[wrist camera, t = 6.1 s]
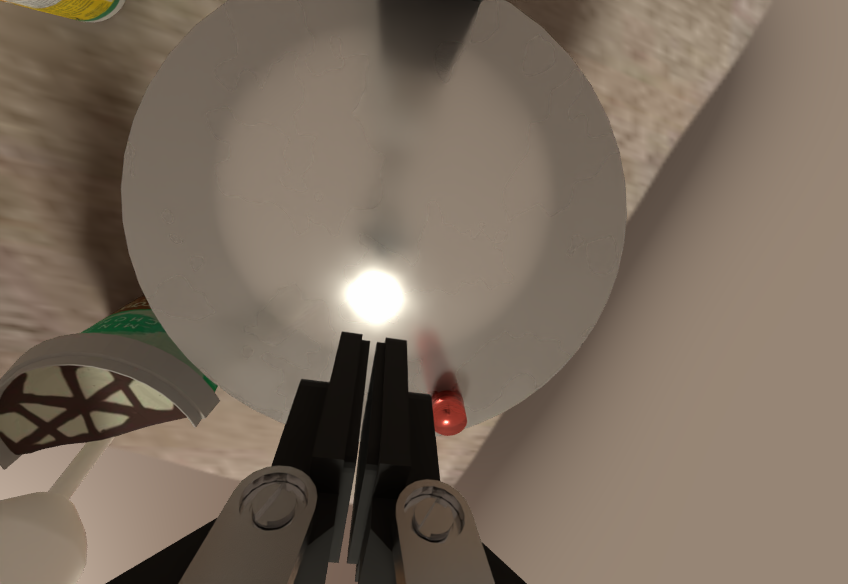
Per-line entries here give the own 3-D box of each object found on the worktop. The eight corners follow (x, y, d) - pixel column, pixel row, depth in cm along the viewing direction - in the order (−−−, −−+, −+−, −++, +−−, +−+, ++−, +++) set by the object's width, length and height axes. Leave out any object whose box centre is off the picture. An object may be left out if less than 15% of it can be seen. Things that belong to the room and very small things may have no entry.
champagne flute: (77, 357, 31) (-570, 973, 10) (167, 345, 31) (-292, 935, 10) (119, 421, 34) (-303, 986, 13) (201, 410, 34) (-94, 956, 13)
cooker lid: (90, -283, 11) (11, -377, 8) (751, -81, 13) (820, -114, 11) (160, 401, 20) (131, 438, 18) (530, 442, 23) (544, 480, 21)
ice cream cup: (226, 258, 29) (148, 329, 20) (261, 332, 32) (205, 425, 23) (61, 297, 30) (-87, 384, 21) (108, 367, 32) (-6, 472, 23)
